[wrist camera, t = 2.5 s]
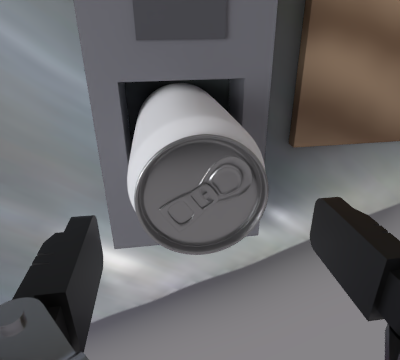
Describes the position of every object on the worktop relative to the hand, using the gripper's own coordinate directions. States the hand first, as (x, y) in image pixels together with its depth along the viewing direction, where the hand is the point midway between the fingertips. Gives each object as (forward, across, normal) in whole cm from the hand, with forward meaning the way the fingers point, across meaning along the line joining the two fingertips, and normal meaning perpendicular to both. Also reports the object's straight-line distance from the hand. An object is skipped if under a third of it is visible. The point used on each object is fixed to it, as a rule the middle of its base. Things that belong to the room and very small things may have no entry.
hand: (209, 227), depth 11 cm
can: (+14, 0, 0) cm, 14 cm away
